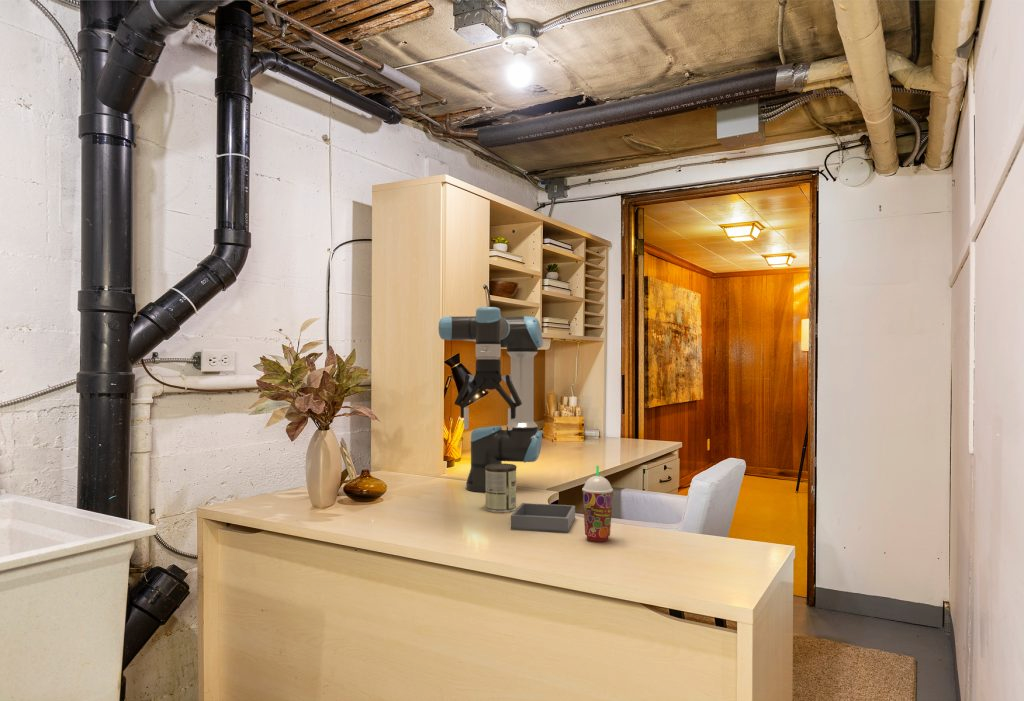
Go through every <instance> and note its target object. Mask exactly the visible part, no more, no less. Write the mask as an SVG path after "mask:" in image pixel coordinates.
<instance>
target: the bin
mask: <svg viewBox="0 0 1024 701" xmlns="http://www.w3.org/2000/svg"><path fill="white" fill-rule="evenodd" d="M516 508H517V509H516V510H515V511H513V512H512V513H511V515H510V530H513V531H531V532H545V533H546V532H548V533H564V534H568V533H569V532H570V529H571V527H572V526H573V524H574V522H575V520H576V505H570V504H569V505H567V504H549V503H548V504H546V503H531V502H528V503H527V502H522V503H521V504H520V505H519V506H518V507H516ZM574 519H575V520H574ZM573 521H574V522H573ZM572 523H573V524H572ZM571 525H572V526H571Z"/></svg>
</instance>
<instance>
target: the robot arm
mask: <svg viewBox="0 0 1024 701" xmlns="http://www.w3.org/2000/svg"><path fill="white" fill-rule="evenodd" d="M438 335H439V338H440V339H441V340H443V341H466V342H467V341H468V342H474V343H475V357H476V358H477V359H476V360H475V374H474V375H472V374H470V373H469V374H465V377H464V382H463V384H462V386H461V388H460V391H459V393H458V395H457V396H456V398H455V401H454V405H456V406H459V407H460V418H461V419H462V418H463V430H468V429H469V428H470V425H469V424H470V423H469V422H470V419H469V417H470V416H469V415H470V413H469V412H470V410H469V409H470V408H469V406H468V404H469V403H470V402H471V400H473V398H474V397H475V396H476V394H477V393H478V392H479V391H480V390H483V391H485V390H491V391H493V390H496V391H497V392H498V393H499V395H500V396H501V397H502V399H503V400H504V401H505V402H506V403H507V405H508V406H509V407H508V408H507V425H506V429H503V427H502V426H501V425H492V426H483V427H478V428H474V429H473V430H472V431H471V434H470V442H469V443H470V469H469V473H468V476H467V479H466V481H465V482H466V484H465V485H466V486H465V488H466V490H467V491H470V492H474V493H475V492H476V493H477V492H478V493H486V474H485V466H486V465H489V464H499V463H503V462H512V463H513V462H515V463H517V462H518V463H521V462H522V463H535V462H536V461H538V459H539V457H540V454H541V448H542V444H543V432H542V431H541V430H539V428H538V426H539V425H538V424H537V423H536V422H535V421H534V417H535V415H534V412H535V411H534V398H535V397H534V395H535V394H534V391H535V390H534V388H535V387H534V386H535V385H534V384H535V382H534V375H535V373H534V366H535V364H534V361H535V360H534V359H535V358H534V357H535V356H536V355H537V354H538V352H539V351H538V349H540V348H542V347H543V333H542V328H541V324H540V321H539V319H538V318H536V317H535V316H526V315H525V316H502V315H501V309H500V308H499V307H495V306H482V307H477V309H476V310H475V316H467V315H466V316H464V315H463V316H462V315H461V316H450V315H449V316H443V317H441V318H440V319H439V321H438ZM501 348H505V349H506V354H507V355H509V357H510V374H506V375H502V372H501V370H502V369H501V368H502V367H501V366H502V365H501V364H502V363H501V360H500V358H501V357H502V356H501V354H502V352H501V351H502V350H501ZM473 381H475V383H476V384H475V386H474V387H473V388H472V389H471V391H470V392H469V393H468V395H467V396H465V395H466V393H467V391H468V389H469V386H470V384H471V383H472V382H473ZM502 381H503V382H504V383H506V386H507V387H508V390H509V392H510V395H509V394H508V393H507V392H506V391H505V389H504V388H503V386H502V385H501V384H500V383H501V382H502ZM464 397H465V398H464Z"/></svg>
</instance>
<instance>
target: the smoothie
mask: <svg viewBox="0 0 1024 701" xmlns="http://www.w3.org/2000/svg"><path fill="white" fill-rule="evenodd" d="M599 467H600V466H599V465H596V466H595V468H596V470H595V471H596V472H595V474H596V475H593V476H591V477H589V478H588V479H587V480H586V481H585V483H584V485H583V487H582V489H581V491H582V503H583V505H582V506H583V519H584V520H583V522H584V535H585V536H586V539H587V541H590V542H593V541H596V542H595V543H604V542H607V541H608V540H609V537H610V536H611V526H612V509H613V491H614V488H613V487H612V485H611V483H610V481H609V480H608V479H607V478H605V477H604V476H602V475H599V474H600V472H599V471H600V468H599ZM601 541H602V542H601ZM603 541H604V542H603Z"/></svg>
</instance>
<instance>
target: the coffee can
mask: <svg viewBox="0 0 1024 701" xmlns="http://www.w3.org/2000/svg"><path fill="white" fill-rule="evenodd" d="M517 467H518V466H517V465H516V464H513V463H503V462H502V463H499V464H489V465H486V466H485V474H486V492H485V511H487V512H491V513H511V512H514V511H515V510H516V509H517V508H518V507H517Z"/></svg>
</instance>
